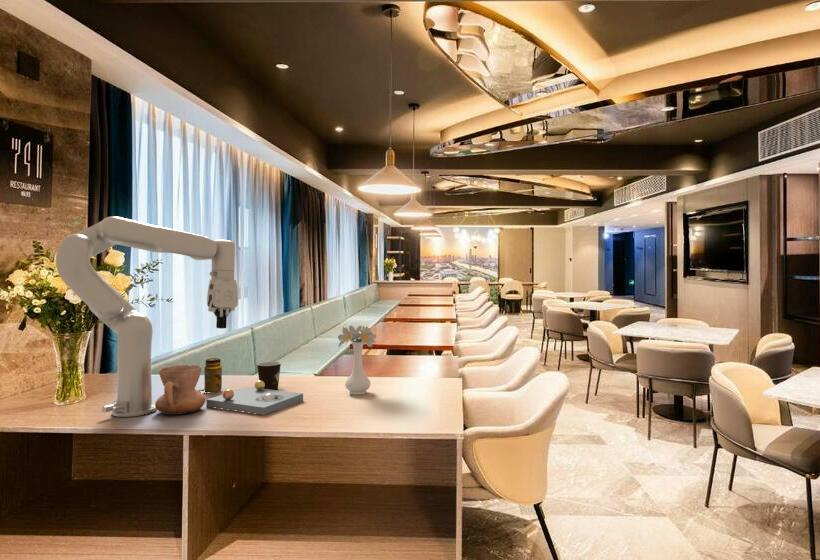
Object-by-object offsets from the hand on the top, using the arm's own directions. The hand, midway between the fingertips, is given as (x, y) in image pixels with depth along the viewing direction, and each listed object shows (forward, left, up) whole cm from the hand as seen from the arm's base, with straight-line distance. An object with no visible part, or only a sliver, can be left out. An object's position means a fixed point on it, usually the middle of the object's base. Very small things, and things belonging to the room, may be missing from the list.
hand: (221, 328), depth 176 cm
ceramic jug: (-18, 0, -25) cm, 31 cm away
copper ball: (-7, -10, -21) cm, 24 cm away
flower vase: (+28, -38, -25) cm, 54 cm away
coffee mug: (+19, -6, -25) cm, 32 cm away
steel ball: (0, -20, -23) cm, 31 cm away
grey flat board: (0, -15, -25) cm, 29 cm away
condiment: (+7, +13, -25) cm, 29 cm away
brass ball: (+8, -10, -21) cm, 24 cm away
